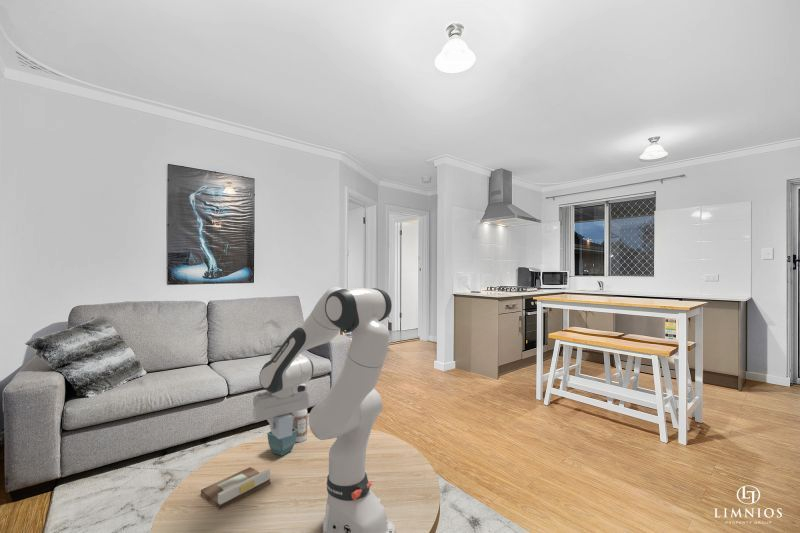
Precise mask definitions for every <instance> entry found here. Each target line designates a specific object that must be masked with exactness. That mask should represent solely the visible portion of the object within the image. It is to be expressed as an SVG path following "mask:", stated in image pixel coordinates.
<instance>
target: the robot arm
mask: <svg viewBox="0 0 800 533" xmlns="http://www.w3.org/2000/svg"><path fill="white" fill-rule="evenodd" d="M391 312H392V300H391V297H390V295H389V294H388V292H387V291H385V290H383V289H379V288H376V287H375V288H374V287H373V288H367V287H353V288H343V287H340V286H333V287H330V288H328V289H327V290H326V291H325V293H323V294H322V296H321V297H320V298H319V300H318V301H317V302H316V304H315V305H314V307H313V309H312V311H311V312H310V314H309V315H308V316H307V318H306V319H304V321H302V323H301V324H300V325H299V326H297V328H295V329H294V330H293V331H292V332H291V333H290V334H289V335H288V337H287V338H285V340H284V342H283V343H282V344H279V345H276V346H274V347H273V348H272V349H271V353H270V360H269V361H267V362H265V363H264V364H263V366H262V368H261V370H260V372H259V375H258V378H259V384H260V386H261V388H263V389H264V390H265V391H263V392H259V393H257V394H256V395H255V396H253V400H252V404H253V407H252V418H253V420H255V421H257V422H261V421H264V420H266V421H267V422H268V423H269V429H270V431H271V430H273V429H275V428H276V427H275V426H276V424H275V423H272V420H273V417H277V416H281V415H285V414H288V413H289V414H291V415H292V424H293V419H294V418H295V416H296V411H300V410H304V409H307V410H308V409H309V407H310V394H309V392H308V388H309V387H308V385H307V384H306V383H308V382H310V381H311V380H312V378H313V375H314V363H313V362H312V360H311V359H310V358H309V357H308V356H307V355H306V356H304V355H303V353H304V352H306V351H309V350H310V349H313V348H315V347H318V346H321V345H324V344H327V343H329V342H331V341H332V340H333V339H335V337H336V336H338V335H339V334H340V332H341V333H344V334H349V333H350V334H351V342H350V343H349V347H348V351H347V353H346V356H345V360H344V362H343V365H342V368H341V370H340V372H339V375H338V377H337V379H336V380H335V381H334V383H333V385H332V386H331V387H330V389H329V390H328V392H327V393H326V394H325V395H324V397H323V398H322V399H321V400H320V401H319V402H318V403H317V404H315V405H314V406H313V407H312V408H311V410H310V412H309V414H308V426H309V429H310V432H311V433H312V435H313V436H314V437H315V438H316V439H318V440H320V441H325V440H326V441H327V440H332V439H335V440H334V442H333V443H332V445H331V446H330V448H329V453H328V475H327V477H326V491H327V498H326V505H325V513H324V517H323V520H322V533H396V526H395V524H394V523H393V522H392V521H390V520H389V519H388V514H387V510H386V507H385V506H384V505H383V501H382V499H380V497H377V496H376V495H375V492H373V491H372V490H371V487H372V485H373V483H372V482H373V480H370V481H369V479H368V478H369V477H368V474H367V472H366V459H367V458H366V455H367V446H368V444H369V443H368V442H369V438H370V436H371V433H372V430H373V427H374V425H375V422H376V420H378V419H377V418H378V417H379V416H380V414H381V413H382V411H383V410H382V409H383V399H382V397H381V394H380V393H379V391H377V390H376V389H375V387H376V386H377V383H378V381H379V378H380V374H381V371H382V369H383V366H384V363H385V360H386V358H387V357H386V356H387V353H388V350H389V343H390V330H389V329H388V327H387V326H386V325H385V324H384V323H382V321H384V320H385V319H387V318H388V317H389V315H390V314H391Z"/></svg>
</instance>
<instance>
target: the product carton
mask: <svg viewBox="0 0 800 533" xmlns="http://www.w3.org/2000/svg"><path fill="white" fill-rule="evenodd" d="M272 423H275V424H276V426H275V427H276V428H275V429H273V430H271V429H270V431H271V433H272V434H274V435H275V436H276V437H277V438H278V439H281V438H285V437H288V436H291V435H292V415H291V413H288V414H285V415H281V416H277V417H273V420H272Z"/></svg>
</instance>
